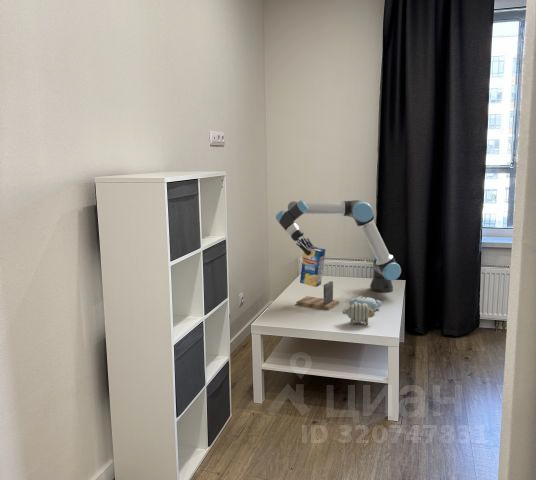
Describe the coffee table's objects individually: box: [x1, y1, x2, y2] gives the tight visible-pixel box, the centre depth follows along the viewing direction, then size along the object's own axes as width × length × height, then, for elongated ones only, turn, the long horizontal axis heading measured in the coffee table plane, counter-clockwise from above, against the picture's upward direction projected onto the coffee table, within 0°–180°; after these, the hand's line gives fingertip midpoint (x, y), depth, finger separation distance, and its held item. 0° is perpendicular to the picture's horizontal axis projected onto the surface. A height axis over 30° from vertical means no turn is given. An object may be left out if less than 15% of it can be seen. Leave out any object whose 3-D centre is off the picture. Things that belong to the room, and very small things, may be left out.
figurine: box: [348, 295, 382, 312], centre depth 309 cm, size 17×8×20 cm
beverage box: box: [299, 245, 326, 288], centre depth 318 cm, size 7×11×22 cm, turn 59°
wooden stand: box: [295, 281, 340, 311], centre depth 320 cm, size 22×14×14 cm, turn 59°
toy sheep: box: [342, 303, 375, 326], centre depth 285 cm, size 11×17×11 cm, turn 89°
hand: (320, 262), depth 315 cm, fingers closed on beverage box, 2 cm apart
